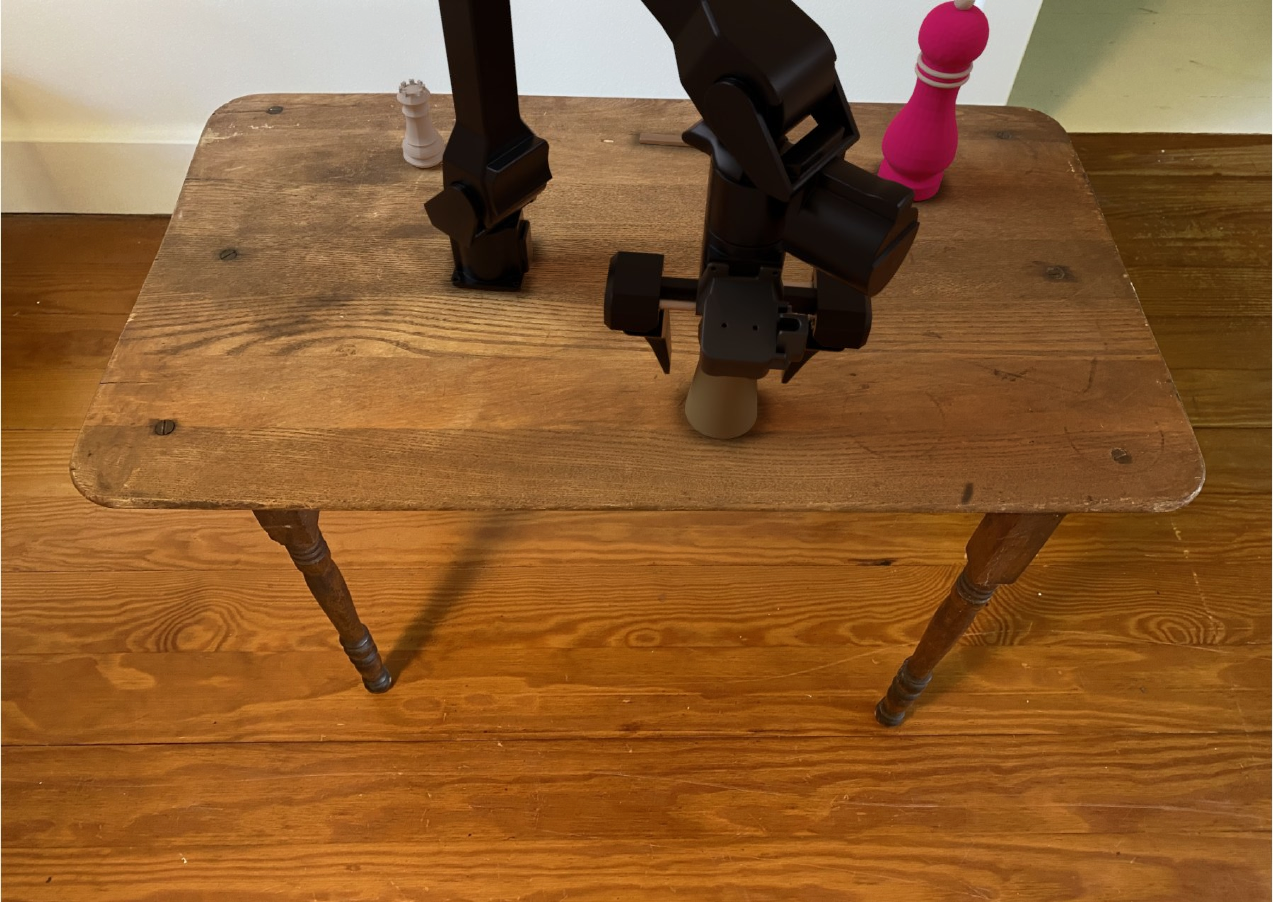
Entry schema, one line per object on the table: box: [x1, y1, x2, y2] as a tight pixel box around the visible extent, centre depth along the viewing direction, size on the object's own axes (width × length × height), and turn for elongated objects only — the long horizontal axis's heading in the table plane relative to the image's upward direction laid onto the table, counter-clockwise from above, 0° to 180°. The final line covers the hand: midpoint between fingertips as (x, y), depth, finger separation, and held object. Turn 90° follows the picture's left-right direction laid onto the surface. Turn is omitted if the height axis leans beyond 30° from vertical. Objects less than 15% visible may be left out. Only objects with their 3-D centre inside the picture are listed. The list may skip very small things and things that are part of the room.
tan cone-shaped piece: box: [684, 316, 758, 440], centre depth 72 cm, size 6×6×11 cm
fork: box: [639, 132, 798, 148], centre depth 97 cm, size 19×2×1 cm, turn 85°
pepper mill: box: [877, 0, 990, 202], centre depth 86 cm, size 7×7×20 cm
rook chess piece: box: [396, 78, 446, 169], centre depth 92 cm, size 4×4×8 cm
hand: (725, 374), depth 73 cm, fingers open, 9 cm apart
